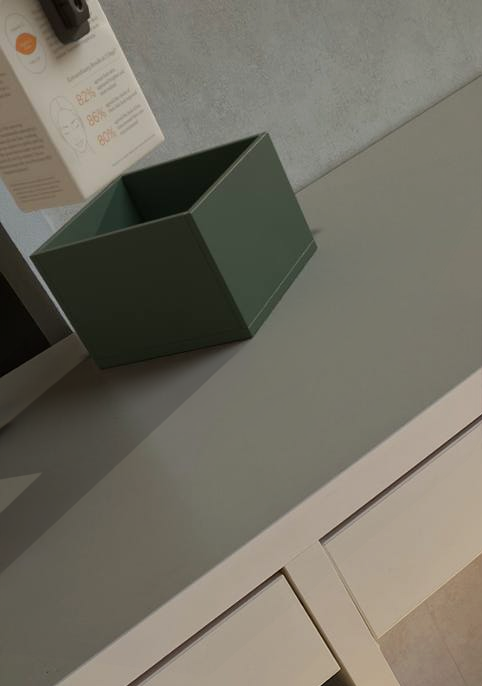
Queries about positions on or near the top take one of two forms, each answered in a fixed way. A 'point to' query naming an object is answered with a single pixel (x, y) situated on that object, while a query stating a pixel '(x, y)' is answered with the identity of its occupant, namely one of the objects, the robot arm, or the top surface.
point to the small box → (66, 109)
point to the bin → (179, 254)
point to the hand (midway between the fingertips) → (28, 54)
